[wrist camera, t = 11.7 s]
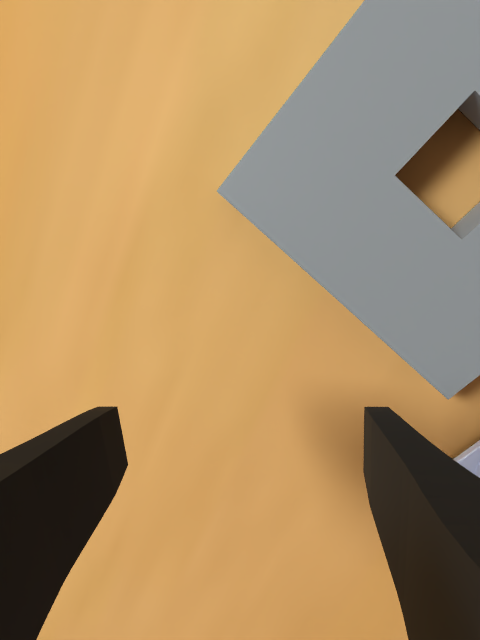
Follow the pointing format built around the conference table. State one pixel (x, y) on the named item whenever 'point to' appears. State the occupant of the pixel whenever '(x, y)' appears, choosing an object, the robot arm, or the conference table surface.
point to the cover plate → (378, 181)
